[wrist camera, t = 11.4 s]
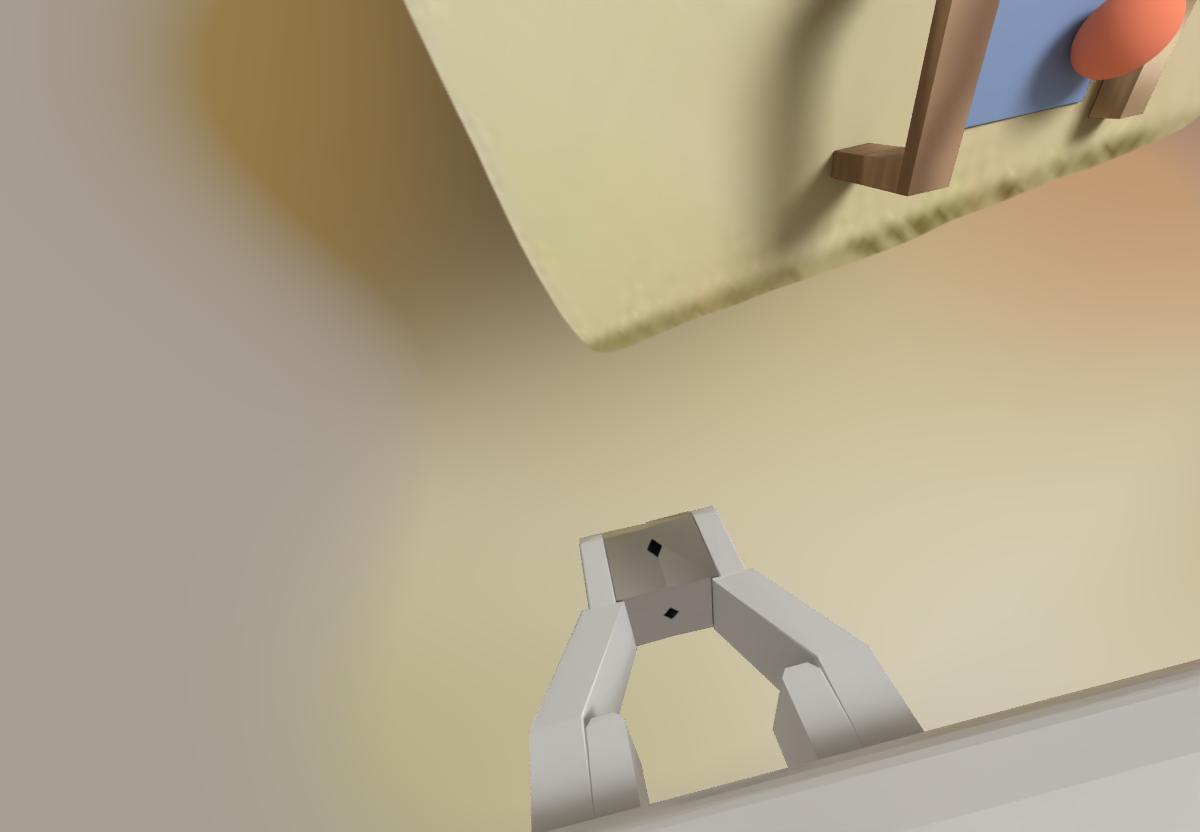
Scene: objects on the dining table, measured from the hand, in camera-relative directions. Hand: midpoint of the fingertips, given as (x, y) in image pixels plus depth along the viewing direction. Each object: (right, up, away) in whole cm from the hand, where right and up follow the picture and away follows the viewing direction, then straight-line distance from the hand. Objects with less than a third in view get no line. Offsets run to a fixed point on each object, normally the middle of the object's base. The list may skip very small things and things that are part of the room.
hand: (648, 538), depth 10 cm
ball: (+38, +31, +23) cm, 54 cm away
